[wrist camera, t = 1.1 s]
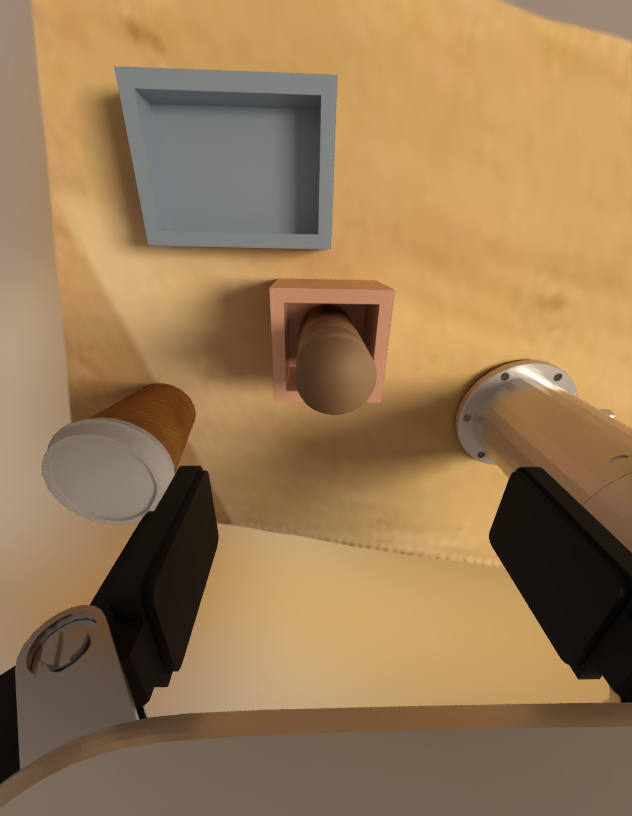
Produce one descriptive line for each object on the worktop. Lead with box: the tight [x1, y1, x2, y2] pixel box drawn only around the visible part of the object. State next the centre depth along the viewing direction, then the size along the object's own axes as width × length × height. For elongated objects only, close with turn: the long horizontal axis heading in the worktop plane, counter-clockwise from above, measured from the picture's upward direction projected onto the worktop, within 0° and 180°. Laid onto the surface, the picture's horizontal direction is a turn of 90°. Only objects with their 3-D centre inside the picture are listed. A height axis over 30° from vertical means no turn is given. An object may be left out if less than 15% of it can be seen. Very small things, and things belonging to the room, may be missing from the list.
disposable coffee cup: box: [42, 384, 196, 525], centre depth 30 cm, size 10×10×12 cm
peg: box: [295, 304, 377, 415], centre depth 25 cm, size 5×5×12 cm
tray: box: [114, 67, 337, 249], centre depth 24 cm, size 14×10×4 cm
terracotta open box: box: [269, 279, 395, 403], centre depth 28 cm, size 9×9×7 cm
